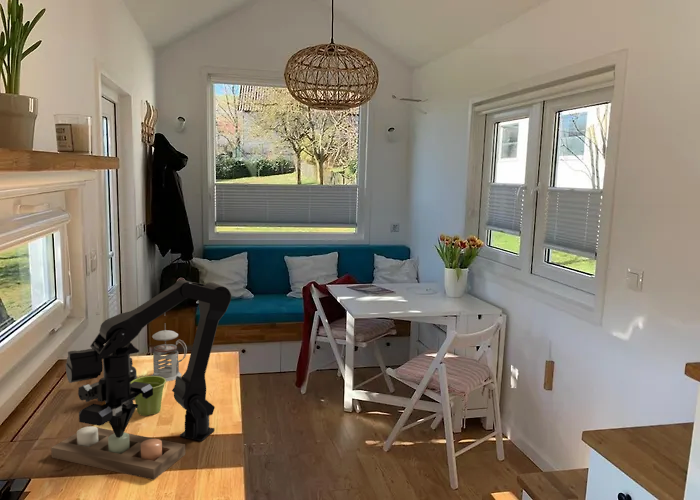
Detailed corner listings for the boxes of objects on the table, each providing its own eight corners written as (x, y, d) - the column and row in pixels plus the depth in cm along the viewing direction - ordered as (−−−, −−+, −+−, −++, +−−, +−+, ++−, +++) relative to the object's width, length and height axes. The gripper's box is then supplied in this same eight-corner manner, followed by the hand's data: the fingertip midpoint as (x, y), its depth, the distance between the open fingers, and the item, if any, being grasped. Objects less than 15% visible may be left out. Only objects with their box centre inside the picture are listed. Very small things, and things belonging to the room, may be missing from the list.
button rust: (149, 454, 133) (149, 437, 133) (166, 458, 132) (165, 440, 131) (136, 464, 129) (136, 446, 128) (153, 468, 128) (153, 449, 127)
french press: (157, 370, 189) (155, 297, 186) (191, 371, 189) (190, 298, 186) (145, 380, 180) (143, 304, 176) (181, 382, 179) (180, 305, 176)
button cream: (87, 442, 139) (86, 425, 138) (102, 445, 137) (102, 428, 137) (73, 450, 134) (72, 433, 134) (88, 454, 133) (88, 436, 132)
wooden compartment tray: (89, 435, 143) (89, 425, 143) (185, 454, 135) (185, 444, 134) (51, 457, 132) (51, 447, 131) (153, 480, 123) (153, 469, 123)
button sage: (117, 448, 136) (117, 430, 135) (133, 451, 135) (133, 434, 134) (104, 457, 132) (103, 439, 131) (120, 460, 130) (120, 442, 130)
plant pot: (155, 420, 152) (154, 390, 151) (123, 416, 154) (122, 386, 153) (172, 406, 161) (172, 377, 160) (142, 403, 163) (142, 374, 162)
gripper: (115, 356, 142) (117, 415, 144) (57, 382, 124) (60, 449, 126) (153, 362, 138) (155, 422, 140) (99, 389, 121) (101, 457, 123)
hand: (119, 436), depth 133 cm, fingers closed, pressing on button sage
